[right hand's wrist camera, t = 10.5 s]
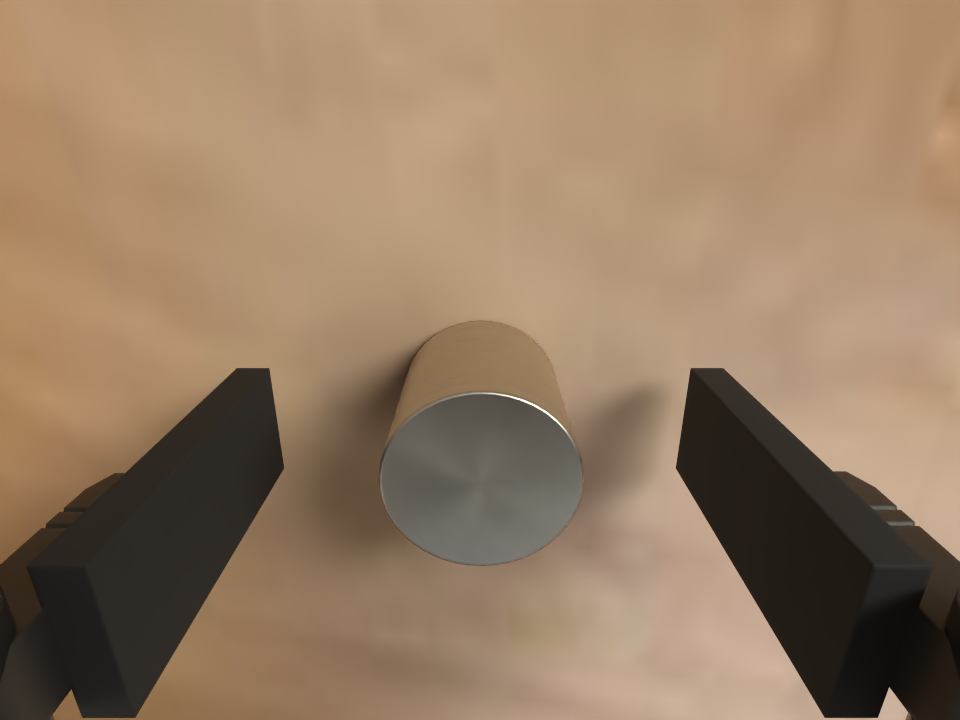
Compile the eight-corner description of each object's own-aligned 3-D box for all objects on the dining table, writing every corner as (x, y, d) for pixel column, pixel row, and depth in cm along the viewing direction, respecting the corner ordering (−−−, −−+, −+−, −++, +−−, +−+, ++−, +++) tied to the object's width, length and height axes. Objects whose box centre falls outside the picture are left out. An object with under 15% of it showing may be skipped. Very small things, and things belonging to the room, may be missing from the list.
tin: (506, 479, 16) (515, 594, 12) (380, 416, 15) (344, 517, 11) (585, 366, 14) (624, 452, 10) (451, 291, 14) (439, 354, 10)
